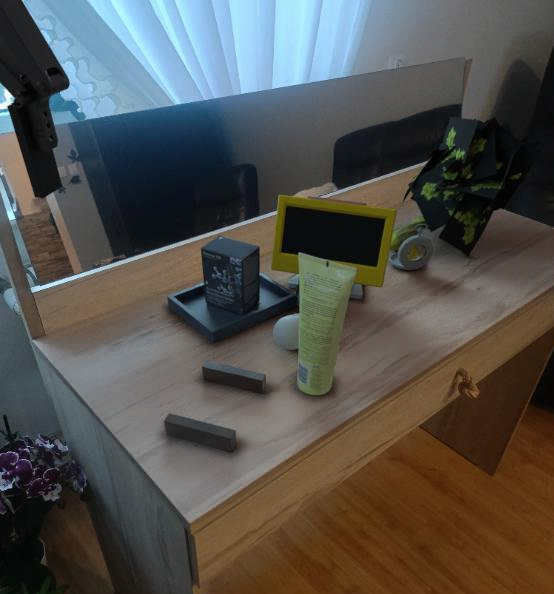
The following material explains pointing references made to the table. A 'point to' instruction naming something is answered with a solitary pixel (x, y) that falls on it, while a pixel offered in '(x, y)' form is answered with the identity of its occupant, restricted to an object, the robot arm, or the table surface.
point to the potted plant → (467, 181)
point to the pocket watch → (413, 252)
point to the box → (231, 274)
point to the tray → (223, 321)
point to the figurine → (287, 332)
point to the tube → (321, 320)
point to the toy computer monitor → (333, 237)
